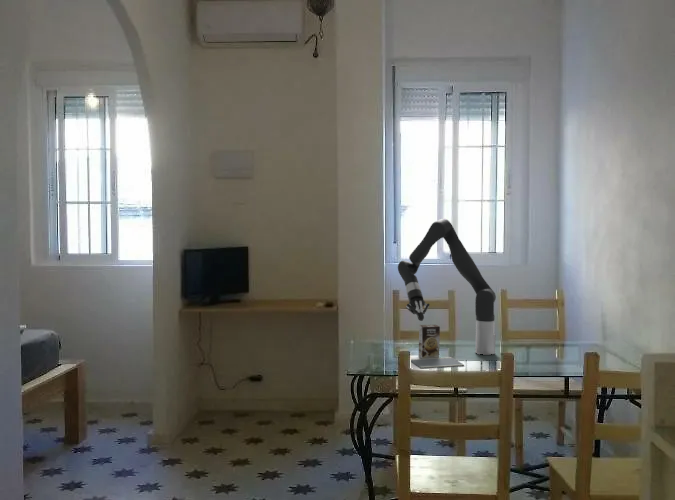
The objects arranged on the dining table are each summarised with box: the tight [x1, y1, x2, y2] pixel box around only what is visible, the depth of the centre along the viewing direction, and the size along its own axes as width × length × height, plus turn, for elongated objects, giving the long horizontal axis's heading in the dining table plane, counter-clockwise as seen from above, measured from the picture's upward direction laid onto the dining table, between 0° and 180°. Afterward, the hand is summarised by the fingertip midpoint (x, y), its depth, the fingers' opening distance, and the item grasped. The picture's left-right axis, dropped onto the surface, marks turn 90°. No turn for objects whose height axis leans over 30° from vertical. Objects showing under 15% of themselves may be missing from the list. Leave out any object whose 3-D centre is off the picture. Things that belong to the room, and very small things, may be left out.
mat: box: [410, 356, 465, 370], centre depth 374 cm, size 22×16×1 cm
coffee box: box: [418, 324, 441, 359], centre depth 386 cm, size 9×6×16 cm
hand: (421, 319), depth 396 cm, fingers closed
